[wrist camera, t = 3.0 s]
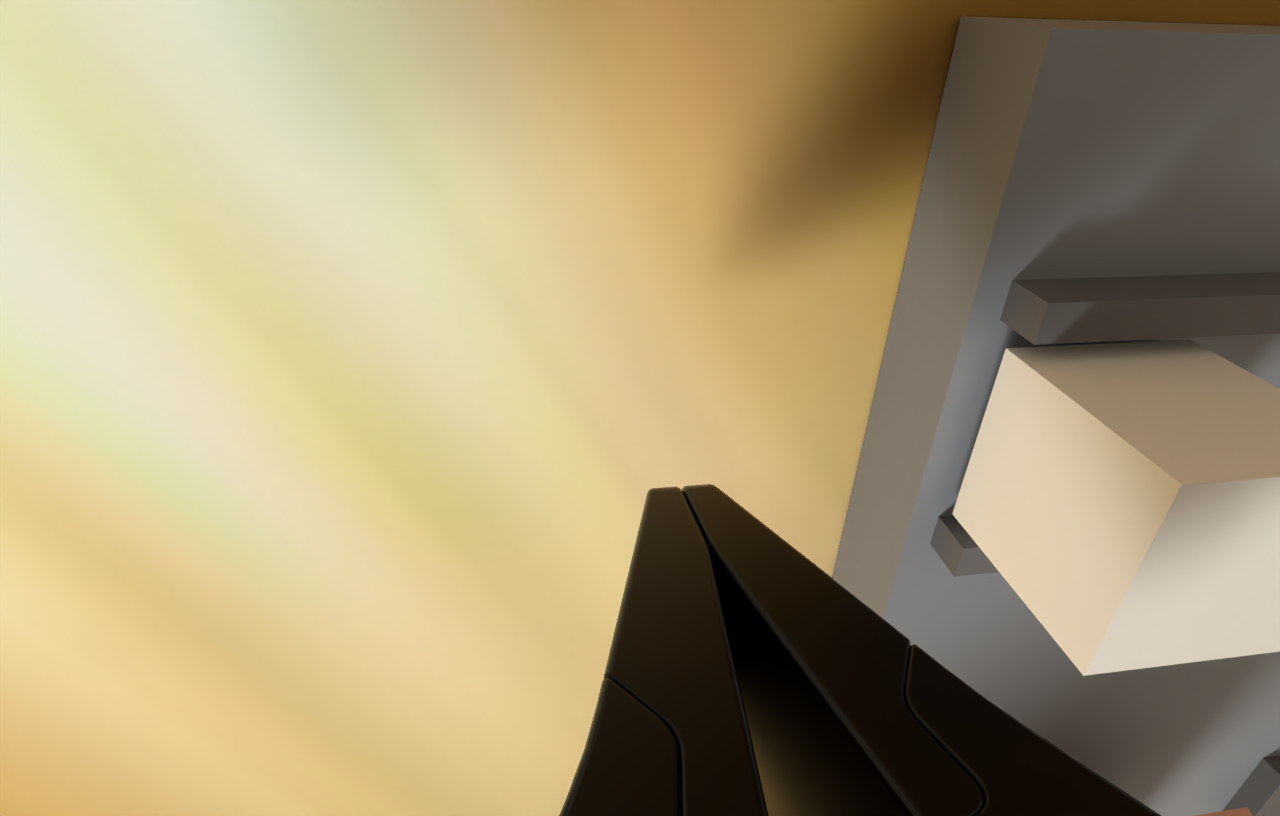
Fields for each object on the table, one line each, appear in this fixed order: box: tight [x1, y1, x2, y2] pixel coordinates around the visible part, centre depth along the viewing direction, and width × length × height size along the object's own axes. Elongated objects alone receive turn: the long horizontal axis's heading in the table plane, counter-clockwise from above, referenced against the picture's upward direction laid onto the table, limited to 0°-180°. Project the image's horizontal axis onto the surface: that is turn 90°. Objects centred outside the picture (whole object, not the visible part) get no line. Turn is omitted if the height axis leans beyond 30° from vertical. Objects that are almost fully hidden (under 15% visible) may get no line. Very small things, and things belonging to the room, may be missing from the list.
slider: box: [952, 340, 1280, 676], centre depth 10 cm, size 3×3×3 cm
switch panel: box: [832, 16, 1280, 816], centre depth 16 cm, size 16×23×3 cm
